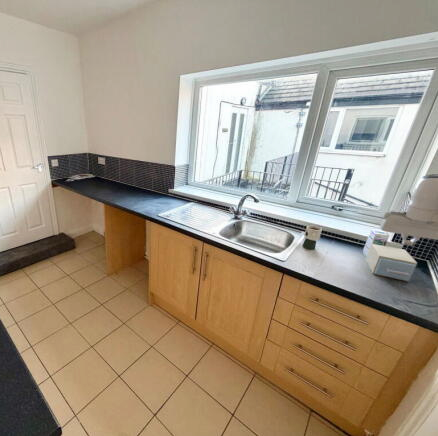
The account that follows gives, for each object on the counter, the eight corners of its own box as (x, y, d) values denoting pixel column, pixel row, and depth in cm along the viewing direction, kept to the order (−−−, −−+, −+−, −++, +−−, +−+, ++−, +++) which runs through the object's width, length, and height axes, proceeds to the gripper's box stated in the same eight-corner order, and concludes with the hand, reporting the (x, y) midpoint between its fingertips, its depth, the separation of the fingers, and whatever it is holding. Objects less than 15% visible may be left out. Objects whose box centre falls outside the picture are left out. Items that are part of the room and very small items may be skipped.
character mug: (301, 242, 144) (306, 222, 139) (315, 246, 141) (321, 225, 136) (300, 250, 136) (306, 229, 130) (315, 254, 132) (322, 233, 127)
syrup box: (365, 257, 129) (375, 233, 123) (361, 252, 134) (371, 228, 128) (379, 260, 127) (390, 235, 121) (374, 254, 132) (384, 230, 126)
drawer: (412, 286, 104) (420, 270, 101) (378, 278, 109) (384, 263, 107) (398, 267, 119) (404, 252, 116) (368, 260, 124) (373, 247, 121)
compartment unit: (408, 281, 109) (417, 263, 105) (372, 273, 115) (379, 255, 111) (397, 266, 121) (405, 249, 117) (365, 260, 127) (371, 243, 123)
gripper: (388, 211, 101) (377, 241, 106) (460, 221, 91) (444, 253, 96) (384, 207, 106) (373, 236, 111) (451, 216, 97) (436, 247, 101)
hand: (406, 244), depth 103 cm, fingers closed
